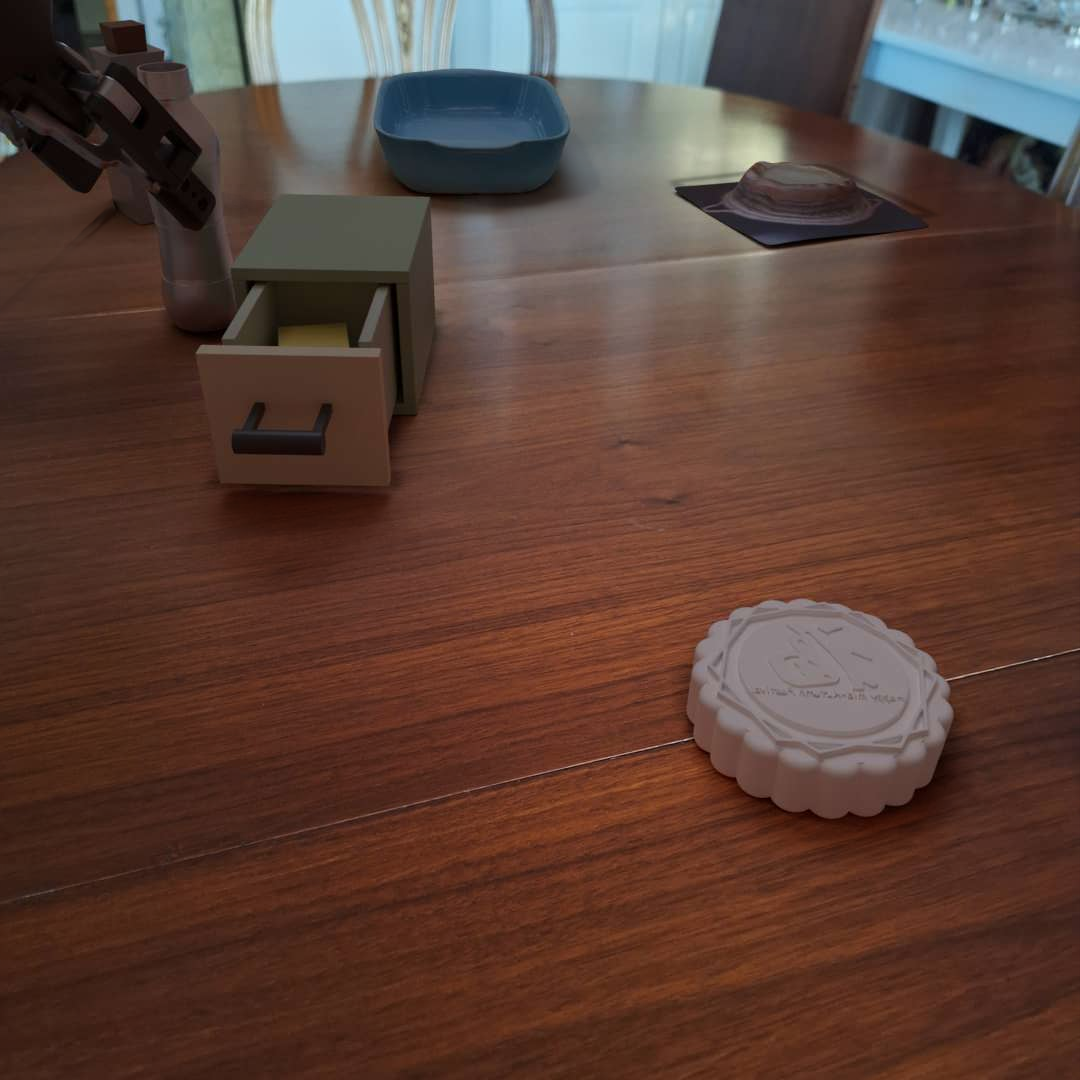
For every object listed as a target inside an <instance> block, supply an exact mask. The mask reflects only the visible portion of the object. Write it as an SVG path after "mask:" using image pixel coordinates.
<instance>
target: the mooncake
mask: <svg viewBox="0 0 1080 1080" xmlns="http://www.w3.org/2000/svg"><path fill="white" fill-rule="evenodd" d="M937 672H938V667H937V663H936V661H935V660H934V658H933V657H932V655H930V654H928V653H927V652H925V651H923V650H921V649H919V648H916V643H915V642H914V640H913V639H912V638H911V636H910V635H908V634H907V633H905V632H904V631H901V630H898V629H892V628H888V626H887V625H886V623H885V622H884V621H883V620H882V619H880V618H879V617H877V616H876V615H872V614H870V613H869V614H868V613H864V612H863V611H862V610H861V611H859V610H852V609H851V608H849V607H848V606H845V605H843V604H841V603H828V602H827V601H820V602H816V601H814V600H811V599H806V598H797V599H793V600H790V601H789V602H784V601H781V600H776V599H769V600H764V601H762V602H760V603H759V604H758V605H754V606H753V607H748V606H746V607H745V606H744V607H739V608H736V609H735V610H733V611H732V612H731V613H730V614H729V616H728V619H721V620H719V621H716V622H714V623H713V624H711V625H710V626H709V628H708V630H707V636H706V638H704V639H702V640H701V641H699V642H698V643H697V644H696V646H695V650H694V656H693V662H692V668H691V675H690V681H689V688H688V694H687V695H688V696H687V697H688V698H687V701H686V702H687V703H686V715H687V718H688V719H689V721H690V722H691V723H692V724H693V733H692V734H693V735H692V736H693V739H694V742H695V744H696V745H697V746H698V747H699V748H700V749H702V750H703V751H705V752H707V753H709V759H710V763H711V765H712V766H713V768H714V769H715V770H716V771H717V772H718V773H720V774H721V775H723V776H725V777H729V778H734V779H735V778H736V783H737V784H738V787H740V789H741V790H742V791H743V792H744V793H746V794H748V795H749V796H752V797H755V798H760V799H765V798H770V800H771V801H772V802H773V803H774V804H775V805H776V806H777V807H778V808H780V809H782V810H784V811H786V812H790V813H801V812H805V811H807V810H810V811H811V812H812V813H813V814H815V815H817V816H818V817H821V818H823V819H828V820H835V819H840V818H842V817H844V816H846V815H847V814H848V813H851V814H853V815H855V816H858V817H863V818H864V817H865V818H869V817H874V816H876V815H879V814H880V813H882V811H883V810H884V809H885V806H889V807H900V806H903V805H905V804H907V803H909V802H910V801H911V800H912V798H913V796H914V794H915V790H916V789H921V788H924V787H926V786H927V785H928V784H929V783H930V782H931V781H932V779H933V777H934V773H935V771H936V767H937V765H938V761H939V760H940V757H941V754H942V752H943V750H944V746H945V743H946V740H947V738H948V736H949V735H948V734H949V731H950V729H951V726H952V724H953V720H954V716H955V715H954V713H955V712H954V710H953V707H952V705H951V704H950V703H949V699H950V696H951V687H950V685H949V682H948V681H947V680H946V679H945V678H944V677H943V676H941V675H940V674H938V673H937Z"/></svg>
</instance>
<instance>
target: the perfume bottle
mask: <svg viewBox="0 0 1080 1080" xmlns="http://www.w3.org/2000/svg"><path fill="white" fill-rule="evenodd" d="M98 25H99V29H100V33H101V36H102V39H103V42H104V46H103V45H102V46H101V45H100V46H92V47H88V50H89V51H90V53H91V56H92V57H93V59H94V62H95V64H96V66H97V69H98V70H93V71H94V72H95V73H97V74H98V75H100V76H102V74H103V73H104V71H105V70H106V68H107V67H108V65H109V63H110V62H111V61H115V62H117V63H120V64H121V65H124V66H125V67H127V68H128V69H129V70H130V71H131V72H132V73H133V74H134V76H135V77H136V78H137V79H138V75H137V67H138V66H141V65H144V64H149V63H157V62H165V50H164V49H162V48H160V47H157V46H154V45H151V44H149V43H147V34H146V24H144V23H141V22H138V21H136V20H133V19H124V20H113V21H104V22H98ZM97 133H98V138H99V144H102V143H103V142H104V141H105V140H106V138H107V136H108V135H107V134H106V133H105V132H102V131H100V130H98V129H97ZM122 151H123V153H124V154H125V155H126V156H127V157H129V158H130V159H132V158H131V157H130V156H129V155H128V154H127V153H126V152H125V151H124V150H123V149H122ZM132 160H133V159H132ZM133 161H134V160H133ZM105 170H106V175H107V179H108V182H109V183H108V184H109V188H110V191H111V197H112V199H113V200H114V201H113V205H114V209H115V210H117V211H118V212H120V214H122V215H124V216H126V217H127V218H128V219H130V220H132V221H133V222H134V223H136V224H137V225H139V226H145V225H148V224H155V217H154V216H153V213H152V209H151V205H150V201H149V197H148V194H147V191H146V189H144V188H143V187H142V186H141V185H140V184H139V183H137V182H136V181H134V180H133V179H131V178H130V177H129V176H127V175H126V174H124V173H123V172H121V171H120V170H118V169H117V168H115V167H109V168H107V169H105Z"/></svg>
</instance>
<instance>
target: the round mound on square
mask: <svg viewBox="0 0 1080 1080" xmlns="http://www.w3.org/2000/svg"><path fill="white" fill-rule="evenodd" d="M674 190H675V191H676V192H677V193H679V194H680V195H682V196H683V197H685V198H686V199H688V200H689V201H690V202H692V203H693V204H694V205H696V206H697V207H698V208H699V209H701V210H702V211H703V212H705V213H706V214H707V215H709V216H711V217H712V218H714V219H716V220H718V221H720V222H721V223H724V224H726V225H728V226H729V227H730V228H733V229H735V230H737V231H739V232H740V233H743V234H745V235H747V236H748V237H750V238H752V239H754V240H756V241H758V242H760V243H762V244H765V245H767V246H769V245H771V246H772V245H773V246H774V245H780V244H784V243H785V244H786V243H791V242H797V241H798V242H799V241H804V240H805V241H806V240H812V239H813V240H814V239H820V238H831V237H832V238H833V237H841V236H852V235H853V236H854V235H866V234H867V235H869V234H881V233H893V232H900V231H901V232H902V231H908V230H909V231H911V230H917V229H923V228H927V227H929V225H930V224H929V223H928V222H927V221H925V220H923V219H921V218H920V217H919V216H917V215H914V214H913V213H911V212H909V211H908V210H907V209H904V208H903V207H901V206H899V205H898V204H896V203H894V202H892V201H890V200H888V199H886V198H884V197H882V196H879V195H877V194H875V193H872V192H871V191H868V190H866V189H864V188H863V187H862V188H861V187H860V186H858V185H857V183H856V181H855V180H853V179H851V178H843V177H842V176H841V175H840V174H837V173H834V172H831V171H830V170H828V169H825V168H821V167H818V166H815V165H801V164H798V163H795V162H789V161H779V162H769V161H766V160H765V161H764V160H761V161H757V162H755V163H754V164H752V165H751V166H750V167H749V168H748V169H747V170H746V171H745V172H744V174H743V175H742V177H741V178H740V180H739V181H731V182H723V183H722V182H720V183H709V184H708V183H707V184H695V185H694V184H693V185H682V186H676V187H674Z"/></svg>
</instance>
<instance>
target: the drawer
mask: <svg viewBox="0 0 1080 1080" xmlns="http://www.w3.org/2000/svg"><path fill="white" fill-rule="evenodd" d="M332 323H346V326H347V333H348V340H349V347H350V348H337V347H285V346H278V327H287V326H302V325H317V324H332ZM195 359H196V363H197V370H198V374H199V379H200V385H201V390H202V395H203V401H204V406H205V412H206V417H207V422H208V427H209V432H210V437H211V443H212V449H213V454H214V459H215V465H216V469H217V474H218V479H219V483H220V484H236V485H238V484H239V485H240V484H241V485H285V486H286V485H287V486H288V485H289V486H290V485H293V486H294V485H296V486H346V487H347V486H350V487H390V483H391V479H392V473H391V472H392V471H391V459H390V456H391V455H390V445H389V443H390V442H389V429H390V425H391V421H392V416H393V415H392V413H393V409H394V405H395V401H396V397H397V393H398V389H399V385H400V381H401V377H402V371H401V355H400V340H399V324H398V309H397V294H396V283H356V282H305V281H256V282H255V284H254V286H253V287H252V289H251V291H250V292H249V294H248V296H247V297H246V299H245V301H244V302H243V304H242V306H241V307H240V309H239V311H238V312H237V314H236V316H235V317H234V319H233V321H232V322H231V324H230V326H229V327H227V328H226V331H225V332H224V334H223V335H222V337H221V344H201V345H200V346H199V347H198V348H197V350H196V352H195Z"/></svg>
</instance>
